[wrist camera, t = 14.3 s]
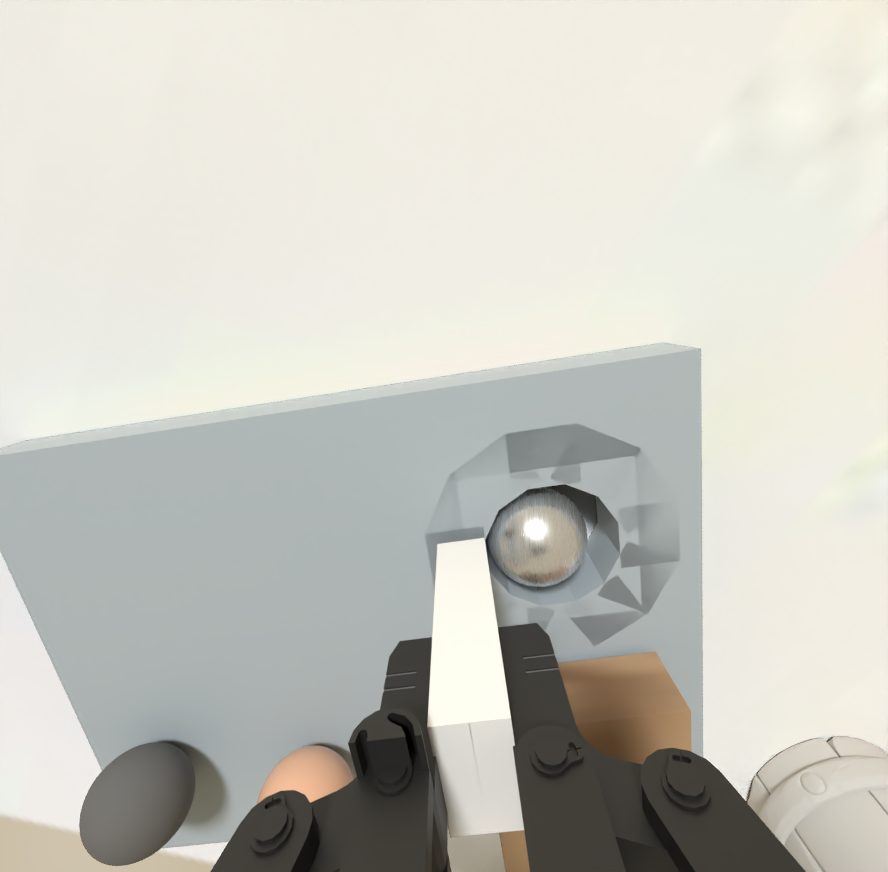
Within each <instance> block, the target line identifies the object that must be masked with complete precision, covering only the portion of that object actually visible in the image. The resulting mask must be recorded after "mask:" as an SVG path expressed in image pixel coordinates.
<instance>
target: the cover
mask: <svg viewBox="0 0 888 872" xmlns="http://www.w3.org/2000/svg"><path fill="white" fill-rule="evenodd" d="M558 667H559V670H560V673H561V677H562V680H563V683H564V687H565V690H566V693H567V697H568V700H569V703H570V706H571V710H572V713H573V716H574V720H575V723H576V725H577V728H578V730H579V732H580V734H581V735H582V736H583V738H584V739H585V740H586V742H588V743H589V744H590V745H591V746H592V747H593V748H595V749H596V750H598V751H599V752H601V753H603V754H605V755H607V756H610V757H613V758H616V759H619V760H624V761H629V762H633V763H638V764H643V763H644V761H645V759H646V757H647V756H649V755H650V754H652V753H653V752H655V751H656V750H659V749H666V748H672V747H673V748H678V749H683V750H688V751H691V752H692V746H691V710H690V709H689V707H688V705H687V703H686V702H685V700H684V698H683V697H682V695H681V693H680V692H679V690H678V688H677V687H676V685H675V683H674V682H673V680H672V678H671V677H670V675H669V673H668V672H667V670H666V668H665V667H664V665H663V663H662V662H661V660H660V658H659V657H658V655H657V653H656V652H649V653H640V654H632V655H623V656H615V657H606V658H598V659H589V660H581V661H572V662H564V663H558ZM499 834H500V840H501V846H502V852H503V858H504V864H505V870H506V872H530V868H529V861H528V854H527V846H526V839H525V832H524V830H521V831H510V832H500V833H499Z"/></svg>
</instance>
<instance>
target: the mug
mask: <svg viewBox="0 0 888 872" xmlns="http://www.w3.org/2000/svg"><path fill="white" fill-rule="evenodd" d="M758 776H759V777H758ZM758 776H755V777H754V779H753V782H752V788H751V792H750V797H749V800H748V802H747V803H748V805H749V806H750V807H751V808H752V809H753V810H754V812H755V813H756V814H757V815H758V816H759V817H760V819H761V820H762V821H763V822H764V823H765V824H766V826H767V827H768V828H769V829H770V830H771V831H772V833H773V834H774V835H775V836H776V837H777V838H778V840H779V841H780V842H781V843H782V844H783V845H784V847H785V848H786V849H787V850H788V851H789V852H790V854H791V855H792V856H793V857H794V858H795V859H796V861H797V862H798V863H799V864H800V865H801V866H802V868H803V869H804V870H805V871H806V872H888V754H887V753H886V752H885V751H884V750H883V749H881V748H879V747H877V746H875V745H873V744H871V743H868V742H866V741H863V740H860V739H856V738H851V737H833V738H832V739H831V740H829V741H828V742H826V741H825V740H824V739H823V738H817V739H812V740H808V741H805V742H803V743H799V744H796V745H794V746H791V747H789V748H788V749H786V750H784V751H783V752H781V753H779V754H778V755H777V756H775V757H774V758H772V759H771V760H770V761H768V762H767V763H766V764H765V765H764V766H763V767H762V768H761V770H760V771H759V772H758Z"/></svg>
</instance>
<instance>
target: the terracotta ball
mask: <svg viewBox="0 0 888 872" xmlns="http://www.w3.org/2000/svg"><path fill="white" fill-rule="evenodd" d="M352 780H354V777H353V774H352V771H351V769H350V767H349V765H348V764H347V762H346V761H345V760H344V758H343V757H342V756H341V755H340V754H338V753H337V752H335V751H334V750H332V749H330V748H327V747H324V746H317V745H314V746H305V747H302V748H299V749H297V750H294V751H293V752H291V753H289V754H288V755H286V756H285V757H284V758H283V759H281V760H280V761H279V762H278V763H277V764H276V765H275V767H274V768H273V769H272V770H271V772H270V773H269V775H268V776H267V778H266V780H265V782H264V784H263V786H262V788H261V791H260V794H259V797H258V800H257V804H258V803H259V802H261V801H262V800H263V799H264V798H266V797H268V796H270V795H272V794H275V793H277V792H279V791H285V790H296V791H298V792H300V793H302V794H305V795H306V797H307V798H308V800H309V802H310V803H311V802H313V801H315V800H317V799H320V798H322V797H324V796H326V795H329V794H331V793H333V792H335V791H337V790H339V789H341V788H343V787H344V786H346V785H348V784H349V783H350V782H351V781H352Z"/></svg>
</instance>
